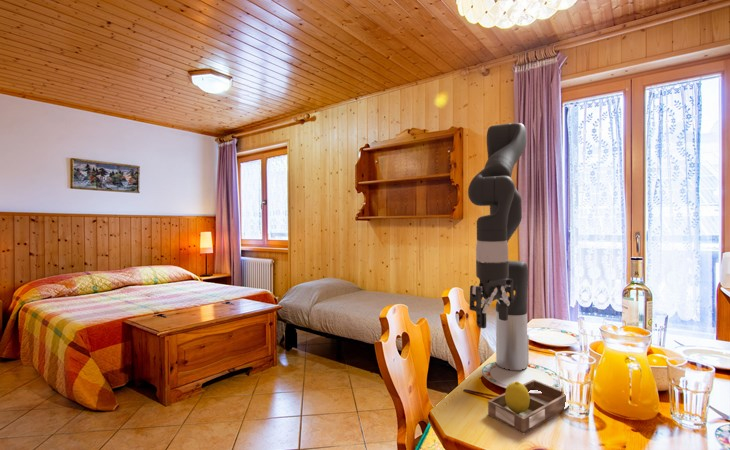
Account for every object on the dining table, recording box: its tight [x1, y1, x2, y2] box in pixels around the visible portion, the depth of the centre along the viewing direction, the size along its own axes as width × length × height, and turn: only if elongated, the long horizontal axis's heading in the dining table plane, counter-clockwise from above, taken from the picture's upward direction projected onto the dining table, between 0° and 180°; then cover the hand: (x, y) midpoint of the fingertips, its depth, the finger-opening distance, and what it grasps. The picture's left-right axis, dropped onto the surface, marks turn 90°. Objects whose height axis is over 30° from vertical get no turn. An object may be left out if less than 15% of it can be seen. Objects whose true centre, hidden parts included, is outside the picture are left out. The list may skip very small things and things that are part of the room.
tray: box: [487, 379, 566, 435], centre depth 94 cm, size 19×10×4 cm, turn 124°
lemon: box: [504, 381, 530, 414], centre depth 91 cm, size 6×6×8 cm
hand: (492, 323), depth 94 cm, fingers open, 8 cm apart
